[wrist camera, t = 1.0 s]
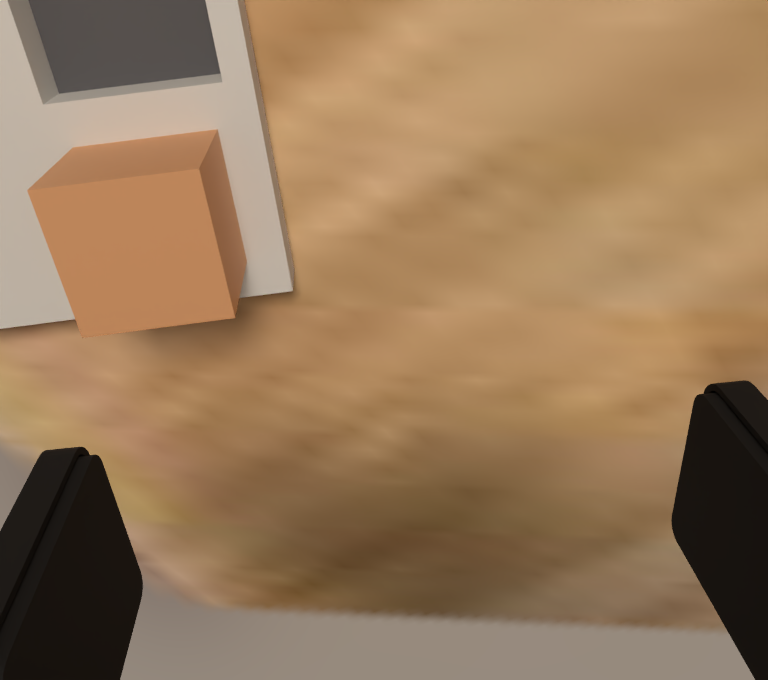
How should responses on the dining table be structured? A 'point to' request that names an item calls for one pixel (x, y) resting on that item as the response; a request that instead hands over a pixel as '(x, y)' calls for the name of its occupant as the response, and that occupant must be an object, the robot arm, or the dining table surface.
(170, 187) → the block
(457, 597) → the dining table surface
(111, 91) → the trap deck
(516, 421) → the dining table surface
